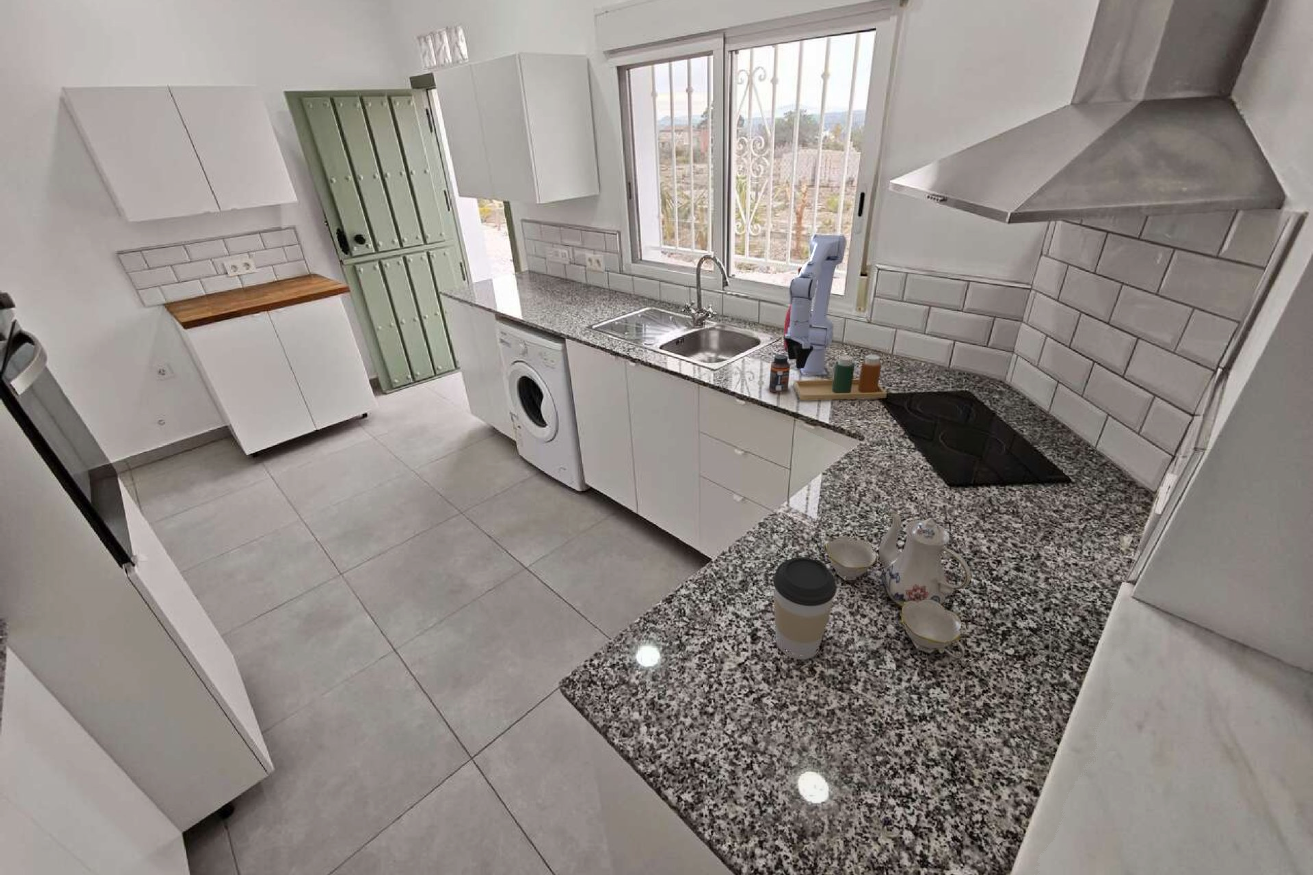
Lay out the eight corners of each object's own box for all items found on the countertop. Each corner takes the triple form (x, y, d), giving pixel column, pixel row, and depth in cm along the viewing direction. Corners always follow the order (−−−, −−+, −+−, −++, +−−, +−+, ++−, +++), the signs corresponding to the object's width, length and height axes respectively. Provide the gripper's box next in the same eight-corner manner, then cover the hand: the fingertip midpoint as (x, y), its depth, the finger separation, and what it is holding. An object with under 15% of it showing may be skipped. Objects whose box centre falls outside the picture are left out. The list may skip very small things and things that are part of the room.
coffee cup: (790, 674, 81) (799, 601, 73) (757, 630, 88) (762, 560, 81) (839, 652, 84) (851, 580, 76) (803, 612, 91) (811, 543, 84)
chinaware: (806, 574, 101) (807, 505, 92) (869, 536, 107) (876, 468, 98) (940, 687, 79) (958, 611, 71) (1010, 632, 85) (1034, 556, 77)
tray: (793, 386, 174) (793, 380, 173) (873, 384, 173) (874, 378, 172) (800, 401, 164) (800, 395, 163) (885, 399, 163) (886, 393, 162)
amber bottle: (855, 387, 170) (860, 354, 165) (873, 386, 170) (879, 353, 165) (860, 394, 165) (866, 360, 160) (879, 393, 165) (885, 360, 160)
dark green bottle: (830, 387, 171) (834, 354, 165) (848, 387, 170) (852, 354, 165) (834, 394, 166) (838, 361, 160) (853, 394, 165) (857, 360, 160)
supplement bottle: (782, 395, 168) (785, 361, 163) (765, 391, 171) (767, 357, 166) (791, 388, 172) (794, 355, 167) (774, 384, 176) (776, 351, 170)
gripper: (779, 313, 163) (776, 356, 170) (794, 328, 150) (790, 373, 157) (801, 312, 164) (798, 354, 170) (819, 326, 151) (814, 371, 157)
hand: (796, 363), depth 164 cm, fingers open, 7 cm apart
